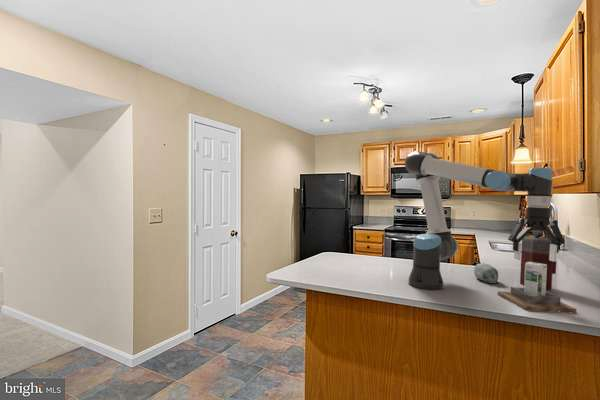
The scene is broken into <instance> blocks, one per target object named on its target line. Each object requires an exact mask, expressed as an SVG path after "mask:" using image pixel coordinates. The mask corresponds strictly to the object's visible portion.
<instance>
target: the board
mask: <svg viewBox="0 0 600 400" xmlns="http://www.w3.org/2000/svg"><path fill="white" fill-rule="evenodd" d="M497 295H498V296H499V295H500V296H499V297H501V298H503V299H504V298H505V300H506V299H507V301H508V302H509V303H511V304H513V303H514V304H513V305H515V304H516V306H517V307H519V308H521V309H522V308H523V310H524V311H527V310H535V311H534V312H548V311H560V312H559V313H569V312H572V313H573V314H577V308H575V307H574V306H571V305H570V304H567V303H564V302H562V301H561V300H562V299H561V297H560V296H558V295H556V294H554V293H551V292H549V291H548V290H546V296H540V295H529V294H527V293H525V292H524V286H523V287H522V286H521V287H520V286H518V287H517V286H510V291H497Z"/></svg>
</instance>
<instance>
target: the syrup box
mask: <svg viewBox="0 0 600 400" xmlns="http://www.w3.org/2000/svg"><path fill="white" fill-rule="evenodd" d="M546 276H547V264H540V263H534V262H526V263H525V281H524V286H523V288H524V292H525V293H527V294H529V295H540V296H546V291H547V290H546Z"/></svg>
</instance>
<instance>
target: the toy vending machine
mask: <svg viewBox="0 0 600 400" xmlns="http://www.w3.org/2000/svg"><path fill="white" fill-rule="evenodd" d="M543 235H544V232H543V231H540V230H537V231H536V230H532V236H525V237H524V238H523V239H522V240H521V258H520V276H519V277H520V278H519V283H520V285H521V286H523V287H524V281H525V263H526V262H534V263H540V264H547V276H546V291H552V288H553V287H552V286H553V275H556V274H557V261H556V262H554V261H550V260H549V253H550V244H553V243H552V242H551V241H550V240H549V238H548V237H543Z"/></svg>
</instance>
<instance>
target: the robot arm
mask: <svg viewBox="0 0 600 400" xmlns="http://www.w3.org/2000/svg"><path fill="white" fill-rule="evenodd" d="M404 168H405V169H406V171H407V172H408V173H410V174H412V175H415V179H416V180H415V181H416V183H419V184H420V189H421V196H422V200H423V201H422V202H423V207H424V213H425V218H426V225H427V231H426V233H420V234H416V236H414V237H413V238H414V239H413V242H412V243H413V249H412V250H413V251H412V252H413V253H412V269H411V271H410V274H409V276H408V280H407V281H408V284H409V285H410V286H412V287H415V288H417V289H423V290H428V291H429V290H432V291H433V290H435V291H437V290H438V291H439V290H442V289H444V279H443V277H442V274H441V273H442V272H441V260H448V259H450V258H452V257H454V256H455V255H456V253H457V251H458V242H457V240H456V238H454V237H453V236H452V230H451V229H449V228H448V227H447V220H446V217H445V211H444V205H443V201H442V200H443V199H442V195H441V189H440V184H439V180H440V179H441V178H444V179H448V180H451V181H456V182H461V183H465V184H468V185H469V184H470V185H474V186H478V187H482V188H487V189H490V190H491V191H492V190H493V191H498V192H523V193H524V192H525V193H526V192H527V197H526V206H527V207H526V208H525V209H526V212H525V213H526V214H525V216H526V218H523V217H521V218H520V217H519V218H517V222H516V225H515V226H514V228H513V230H512V232H511V233H510V234H509V236H508V238H507V240H508V241H510V242H511V243H512V250H513V251H514V254H513V259H515V260H518V261H521V250H522V239H523V238H524V237H527V235H529V233H530V232H533V230H536V231H537V230H540V231H543V234H545V236H546V238H547V239H549V240H550V241H551V242H552V243H553V244H550V253H549V260H550V261H554V262H556V263H557V255H558V253H559V250H560V249H559V248H560V246H562V245H564V244H565V243H566V242H565V238H564V237H563V234H562V231H561V230H560V228H559V223H558V220H557V219H550V218H551V217H550V216H551V208H549V207H551V204H552V203H551V202H552V188H553V169H551V168H549V167H531V168H529V170H528V172H527V173H524V172H523V173H513V172H512V173H511V172H505V171H502V170H497V169H492V168H487V167H486V168H485V167H480V166H475V165H470V164H465V163H460V162H454V161H450V160H444V159H441V158H440V157H439V156H437V155H436V154H433V153H431V152H423V151H419V150H417V151H412V152H411V153H409V154H407V156H406V157H405V160H404ZM525 224H526V225H525ZM549 226H550V228H549Z"/></svg>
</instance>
